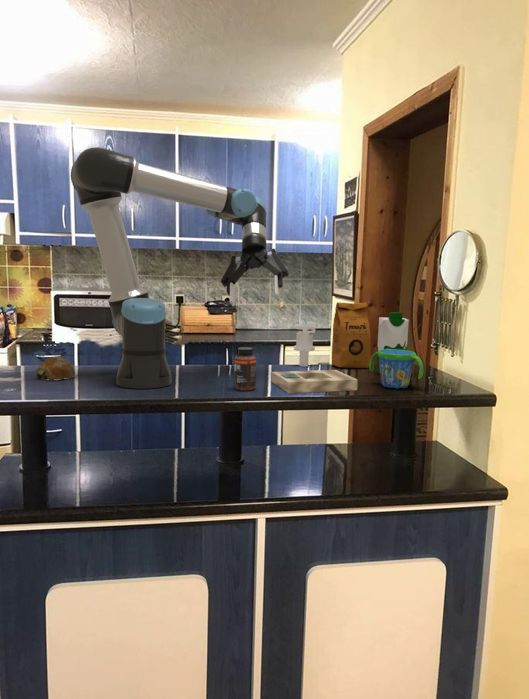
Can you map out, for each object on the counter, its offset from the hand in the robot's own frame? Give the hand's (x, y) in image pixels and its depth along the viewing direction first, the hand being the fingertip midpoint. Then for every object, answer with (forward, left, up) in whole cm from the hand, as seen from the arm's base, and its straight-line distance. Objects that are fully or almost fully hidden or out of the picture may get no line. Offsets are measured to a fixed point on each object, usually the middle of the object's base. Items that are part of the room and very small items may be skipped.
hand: (254, 300), depth 166 cm
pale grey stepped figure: (+23, +20, -24) cm, 39 cm away
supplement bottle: (-6, -12, -24) cm, 27 cm away
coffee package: (+38, +15, -24) cm, 48 cm away
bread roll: (-56, +13, -24) cm, 62 cm away
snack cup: (+37, -17, -24) cm, 47 cm away
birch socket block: (+14, -12, -23) cm, 30 cm away
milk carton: (+45, 0, -24) cm, 51 cm away
